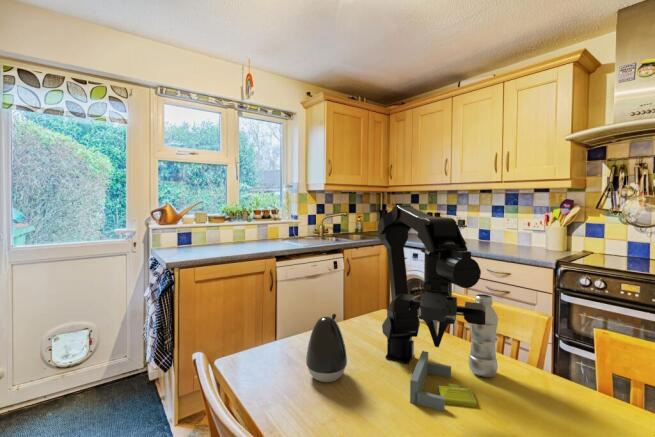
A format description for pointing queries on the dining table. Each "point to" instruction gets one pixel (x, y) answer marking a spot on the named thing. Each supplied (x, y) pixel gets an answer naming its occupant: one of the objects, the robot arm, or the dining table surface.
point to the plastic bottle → (484, 341)
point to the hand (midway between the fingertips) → (437, 346)
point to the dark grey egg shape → (326, 350)
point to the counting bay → (419, 379)
